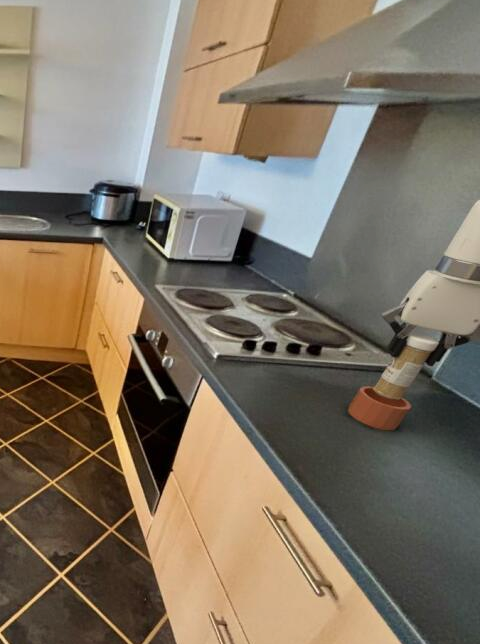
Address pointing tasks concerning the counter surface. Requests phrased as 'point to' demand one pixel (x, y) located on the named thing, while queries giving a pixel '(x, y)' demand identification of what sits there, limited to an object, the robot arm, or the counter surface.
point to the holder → (378, 409)
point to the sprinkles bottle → (405, 366)
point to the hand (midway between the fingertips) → (410, 358)
